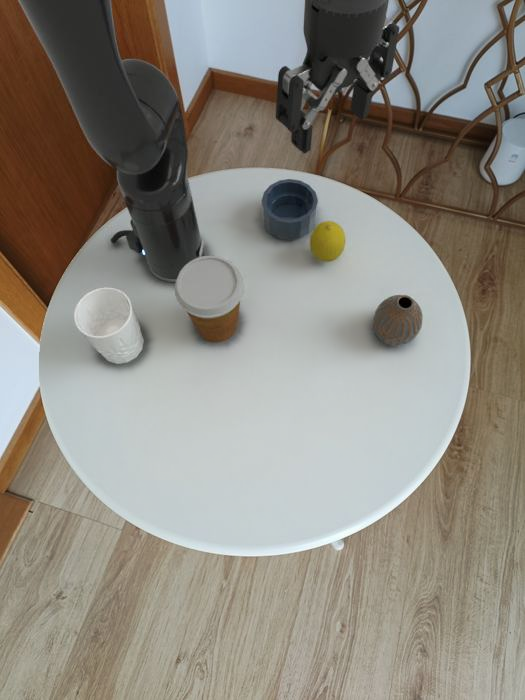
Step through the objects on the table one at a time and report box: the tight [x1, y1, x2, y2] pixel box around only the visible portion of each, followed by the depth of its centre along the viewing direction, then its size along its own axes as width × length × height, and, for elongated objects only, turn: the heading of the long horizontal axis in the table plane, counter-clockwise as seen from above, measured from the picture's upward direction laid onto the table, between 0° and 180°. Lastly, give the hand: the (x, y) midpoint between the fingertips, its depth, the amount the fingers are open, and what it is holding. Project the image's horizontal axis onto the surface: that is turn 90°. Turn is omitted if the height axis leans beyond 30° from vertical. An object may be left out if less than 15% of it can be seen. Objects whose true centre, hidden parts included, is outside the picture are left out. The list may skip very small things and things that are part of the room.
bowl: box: [261, 178, 319, 241], centre depth 89 cm, size 9×9×5 cm
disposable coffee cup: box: [174, 255, 245, 343], centre depth 77 cm, size 10×10×12 cm
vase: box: [372, 294, 424, 347], centre depth 77 cm, size 7×7×9 cm
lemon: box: [309, 220, 346, 263], centre depth 84 cm, size 6×6×8 cm
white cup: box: [73, 286, 145, 365], centre depth 77 cm, size 8×8×10 cm
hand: (330, 131), depth 62 cm, fingers open, 8 cm apart
